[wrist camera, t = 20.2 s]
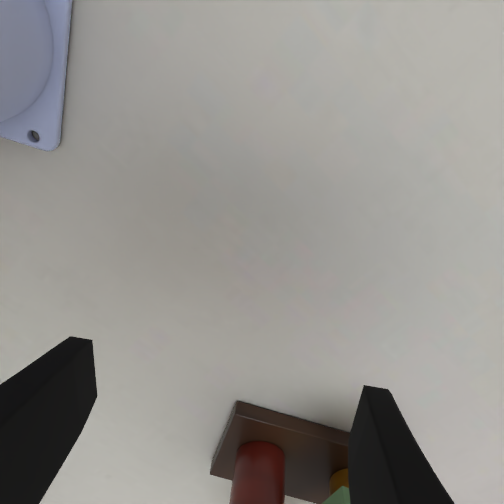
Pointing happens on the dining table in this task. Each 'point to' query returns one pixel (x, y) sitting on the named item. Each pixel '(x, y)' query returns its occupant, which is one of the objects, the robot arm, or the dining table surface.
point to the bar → (339, 497)
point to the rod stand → (279, 457)
